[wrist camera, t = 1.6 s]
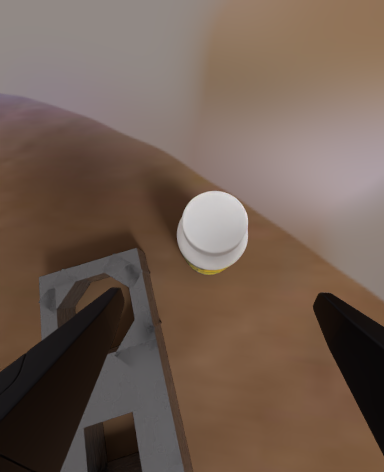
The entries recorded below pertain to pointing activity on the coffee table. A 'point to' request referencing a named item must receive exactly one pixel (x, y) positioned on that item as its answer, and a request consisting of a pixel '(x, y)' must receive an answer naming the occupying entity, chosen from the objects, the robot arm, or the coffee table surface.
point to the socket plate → (122, 372)
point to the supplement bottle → (212, 232)
